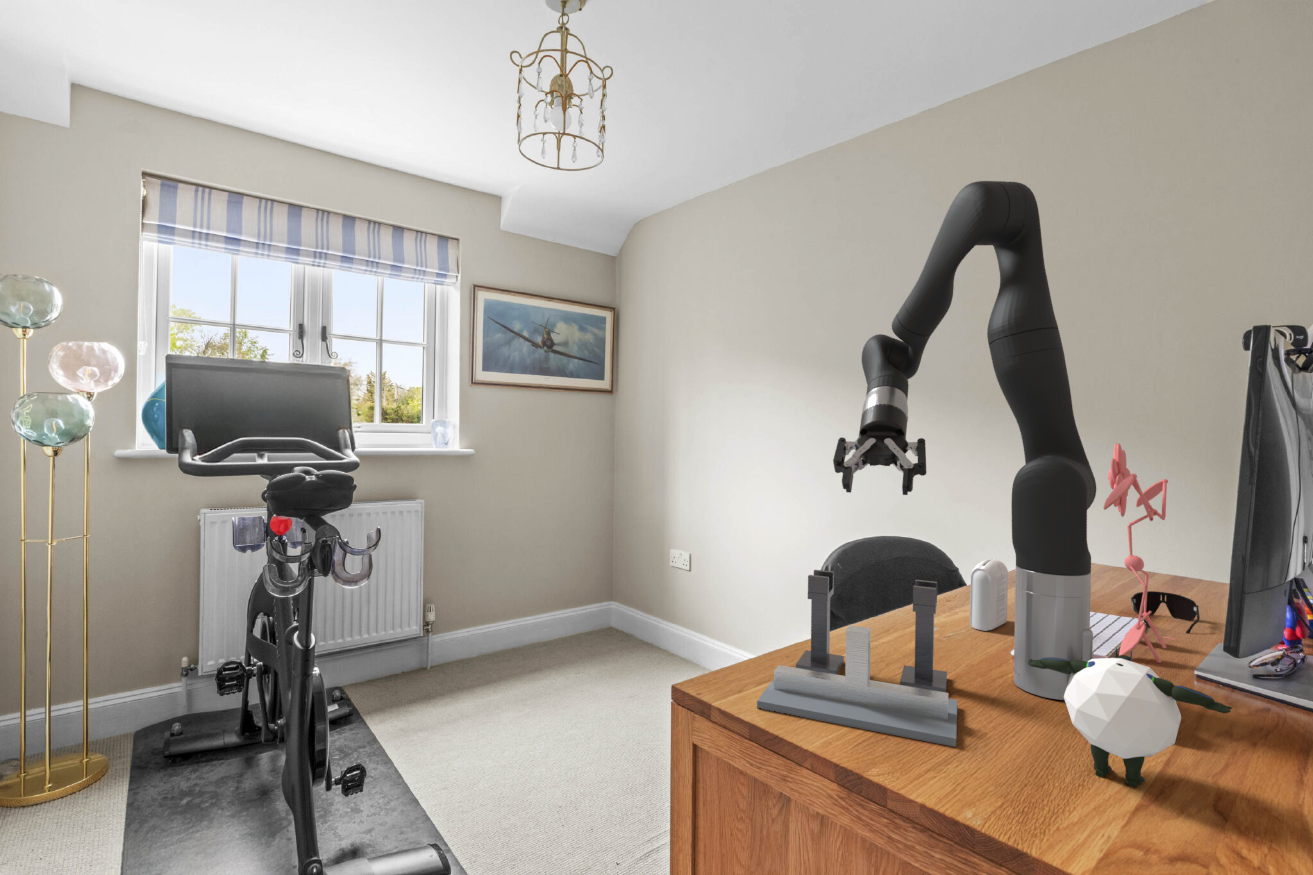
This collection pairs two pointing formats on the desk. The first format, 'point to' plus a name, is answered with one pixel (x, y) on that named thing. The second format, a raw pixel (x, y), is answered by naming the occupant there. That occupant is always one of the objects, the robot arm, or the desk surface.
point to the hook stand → (830, 663)
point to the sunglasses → (1175, 604)
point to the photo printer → (988, 595)
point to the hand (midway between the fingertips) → (876, 490)
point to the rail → (861, 683)
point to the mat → (863, 716)
